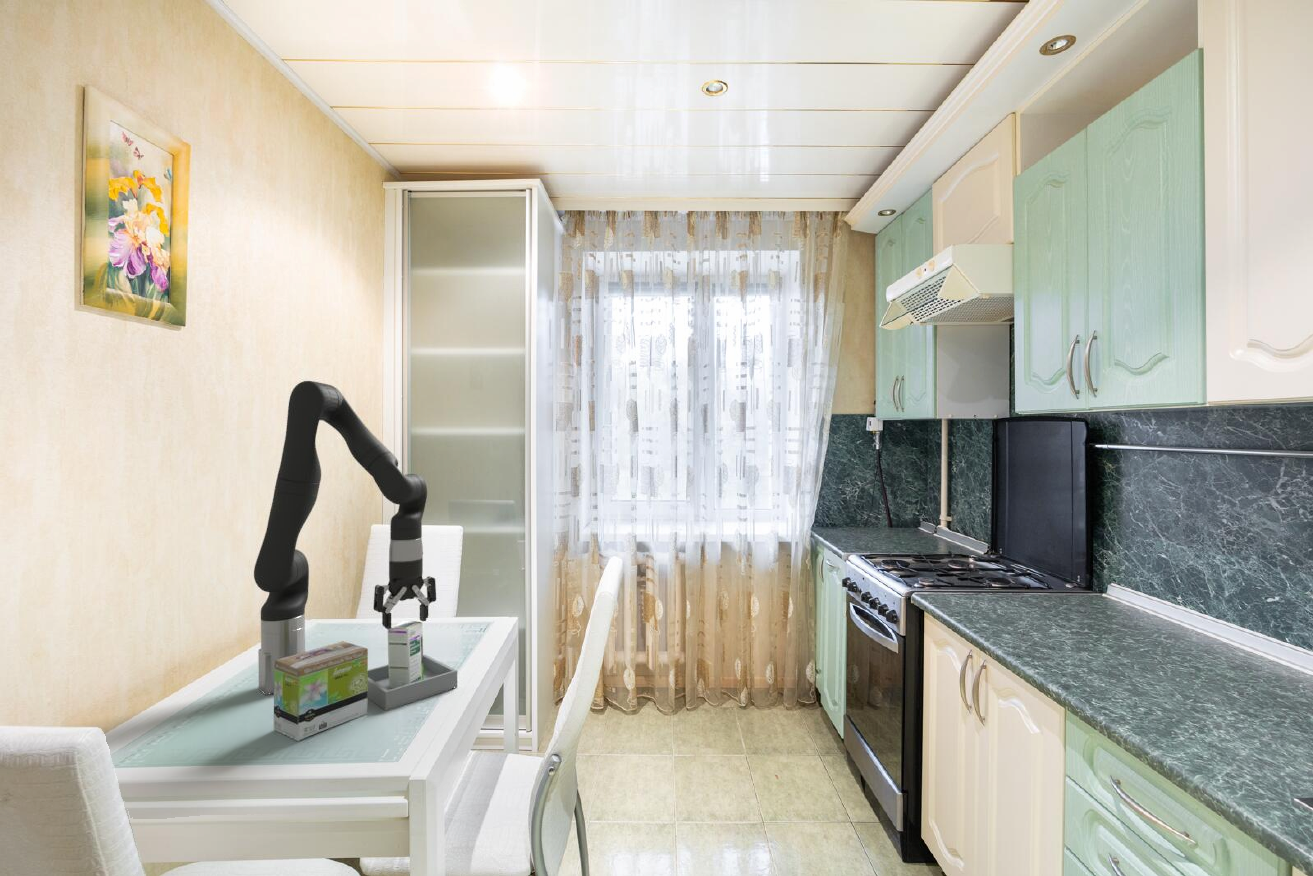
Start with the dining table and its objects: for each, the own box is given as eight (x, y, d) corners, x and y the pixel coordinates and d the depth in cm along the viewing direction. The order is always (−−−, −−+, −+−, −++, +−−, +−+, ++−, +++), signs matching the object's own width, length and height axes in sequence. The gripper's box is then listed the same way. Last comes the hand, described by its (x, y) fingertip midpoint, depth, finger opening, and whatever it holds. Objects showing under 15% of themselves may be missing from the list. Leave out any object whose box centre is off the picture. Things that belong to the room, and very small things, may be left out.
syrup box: (409, 690, 143) (409, 628, 143) (387, 688, 144) (387, 627, 144) (424, 680, 148) (423, 621, 149) (402, 679, 150) (402, 620, 150)
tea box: (298, 743, 120) (298, 668, 120) (272, 731, 126) (272, 659, 126) (369, 714, 133) (368, 646, 133) (343, 704, 138) (342, 639, 138)
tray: (386, 710, 134) (385, 692, 134) (356, 689, 146) (356, 673, 146) (457, 687, 147) (457, 670, 147) (425, 669, 158) (425, 654, 158)
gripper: (427, 551, 154) (427, 615, 154) (369, 559, 144) (369, 627, 144) (441, 555, 149) (441, 621, 149) (382, 563, 139) (381, 634, 139)
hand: (405, 624), depth 146 cm, fingers open, 8 cm apart
